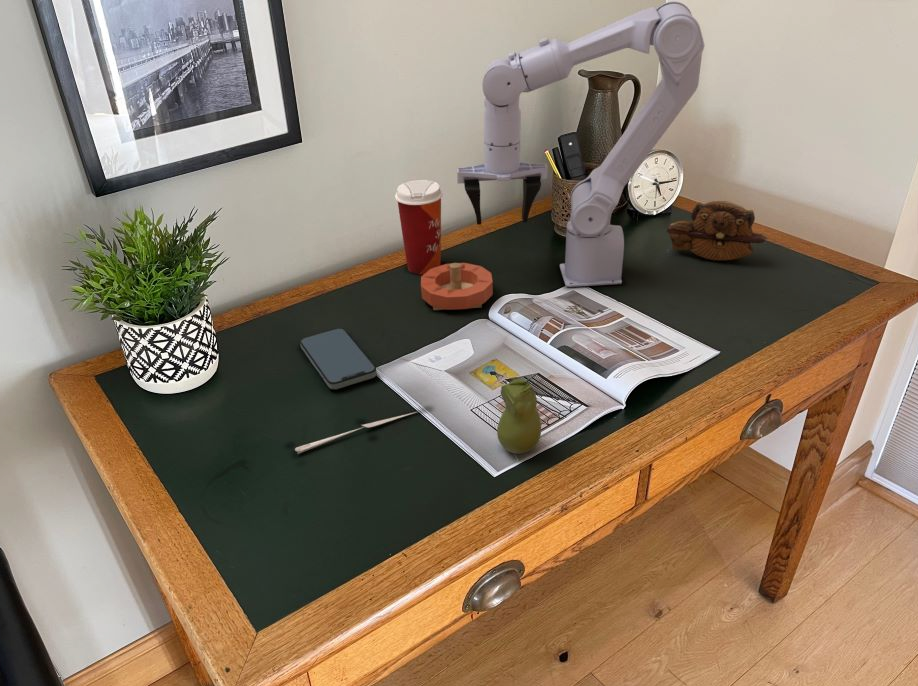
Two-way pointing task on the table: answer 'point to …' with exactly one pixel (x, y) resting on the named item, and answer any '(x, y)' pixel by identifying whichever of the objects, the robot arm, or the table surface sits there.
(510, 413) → the pear
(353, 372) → the smartphone
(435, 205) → the coffee cup
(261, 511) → the table surface
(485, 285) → the ring
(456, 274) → the post
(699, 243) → the wooden carving
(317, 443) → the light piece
